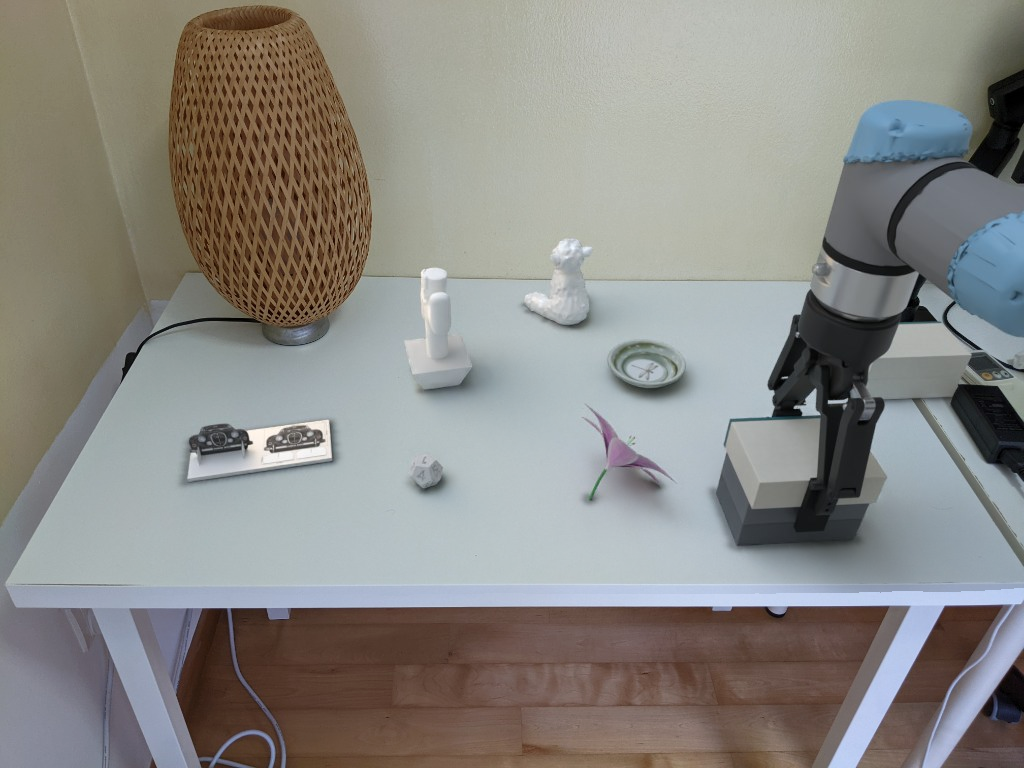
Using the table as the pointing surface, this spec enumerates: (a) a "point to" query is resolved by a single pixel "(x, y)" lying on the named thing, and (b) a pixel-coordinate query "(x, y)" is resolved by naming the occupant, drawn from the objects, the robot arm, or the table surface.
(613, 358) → the saucer
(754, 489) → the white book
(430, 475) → the game die
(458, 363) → the figurine
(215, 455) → the car cutout
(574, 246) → the sitting furry creature
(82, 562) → the table surface
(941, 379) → the white rectangular block
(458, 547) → the table surface
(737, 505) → the grey box
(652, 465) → the lily
